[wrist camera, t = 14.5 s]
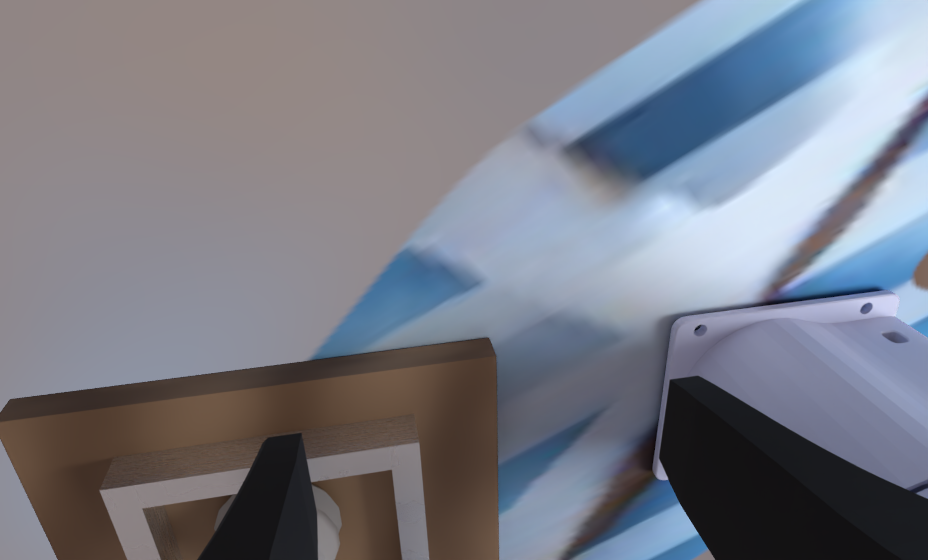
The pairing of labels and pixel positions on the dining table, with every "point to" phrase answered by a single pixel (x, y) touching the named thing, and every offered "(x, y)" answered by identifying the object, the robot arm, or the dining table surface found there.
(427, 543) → the collar board
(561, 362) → the dining table surface
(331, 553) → the rook chess piece
